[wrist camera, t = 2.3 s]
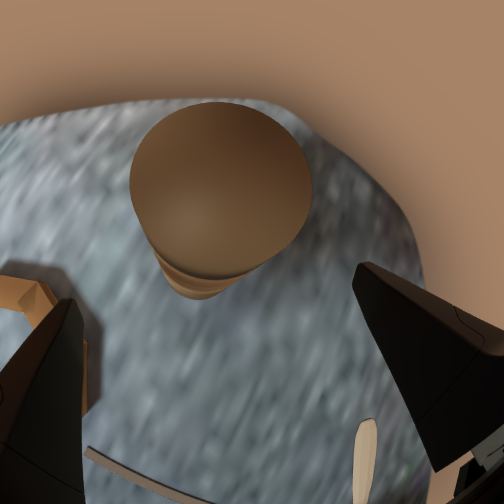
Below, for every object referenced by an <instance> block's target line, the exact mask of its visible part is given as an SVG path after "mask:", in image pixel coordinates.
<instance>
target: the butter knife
mask: <svg viewBox="0 0 504 504" xmlns="http://www.w3.org/2000/svg"><path fill="white" fill-rule="evenodd" d="M376 447H377V427H376V424H375V420H374V419H368V420H365V421H362V422H361V424H360V426H359V429H358V431H357V434H356V439H355V449H354V467H353V504H367V501H368V497H369V492H370V488H371V484H372V479H373V472H374V465H375V457H376Z"/></svg>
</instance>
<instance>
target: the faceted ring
mask: <svg viewBox="0 0 504 504" xmlns="http://www.w3.org/2000/svg"><path fill="white" fill-rule="evenodd" d="M57 303H58V300H57V299H56V297H55V296H54V294H53V292H52V291H51V289H50V288H49V286H48V284H45V283H42V282H38V281H32V280H26V279H21V278H15V277H10V276H4V275H0V307H1V308H5V309H9V310H14V311H18V312H23V313H24V314H25V316H26V317H27V319H28V321H29V322H30V324H31V326H32V327H33V329H35V328H36V327H37V326H38V324H39V323H40V322H41V321H42V320H43V319H44V317H45V316H46V315H47V314H48V313H49V312H50V311H51V309H52V308H53V307H54V306H55V305H56V304H57ZM87 412H88V411H87V342H86V340H85V339H84V377H83V394H82V417H83V416H84V415H85V414H86V413H87Z"/></svg>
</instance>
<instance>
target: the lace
mask: <svg viewBox="0 0 504 504" xmlns="http://www.w3.org/2000/svg"><path fill="white" fill-rule="evenodd" d="M84 456H85V457H87V458H88V459H90V460H92V461H94V462H95V463H97V464H99V465H101V466H102V467H104V468H106V469H108V470H110V471H111V472H113V473H115V474H117V475H119V476H121V477H123V478H125V479H127V480H129V481H131V482H133V483H135V484H137V485H139V486H142V487H144V488H146V489H148V490H150V491H153V492H155V493H157V494H160V495H162V496H164V497H167V498H169V499H172V500H174V501H177V502H180V503H182V504H211V503H208V502H205V501H202V500H199V499H197V498H194V497H191V496H188V495H186V494H183V493H181V492H178V491H176V490H173V489H171V488H168V487H166V486H163V485H161V484H159V483H157V482H154V481H152V480H150V479H148V478H146V477H143V476H141V475H139V474H137V473H135V472H133V471H131V470H129V469H127V468H125V467H123V466H121V465H119V464H118V463H116V462H114V461H112V460H110V459H108V458H107V457H105V456H103V455H101V454H100V453H98V452H96V451H94V450H93V449H91V448H89V447H87V449H86V451H85V453H84Z"/></svg>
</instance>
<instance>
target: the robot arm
mask: <svg viewBox="0 0 504 504" xmlns="http://www.w3.org/2000/svg"><path fill="white" fill-rule="evenodd" d="M352 288H353V291H354V293H355V296H356V298H357V301H358V303H359V306H360V308H361V311H362V313H363V316H364V318H365V321H366V323H367V325H368V327H369V329H370V331H371V333H372V335H373V337H374V339H375V341H376V343H377V345H378V347H379V349H380V351H381V353H382V355H383V357H384V359H385V361H386V363H387V365H388V367H389V370H390V372H391V374H392V376H393V378H394V380H395V382H396V384H397V386H398V388H399V391H400V393H401V395H402V397H403V399H404V401H405V404H406V406H407V408H408V410H409V412H410V415H411V417H412V419H413V422H414V424H415V426H416V429H417V431H418V433H419V436H420V438H421V440H422V443H423V445H424V448H425V450H426V452H427V455H428V457H429V460H430V462H431V465H432V467H433V470H434V471H435V473H437V472H438V471H440V470H442V469H443V468H445V467H446V466H448V465H449V464H450V463H452V462H454V461H455V460H457V459H458V458H460V457H461V456H463V455H464V454H466V453H467V452H468V451H470V450H471V452H472V454H473V456H474V458H472V459H471V460H470V461H468V462H467V463H466V464H464V465H463V466H462V467H460V470H459V475H458V479H457V484H456V488H455V492H454V499H452V500H451V501H449V502H448V503H446V504H504V330H502V329H500V328H498V327H495V326H493V325H491V324H489V323H487V322H485V321H483V320H481V319H479V318H477V317H475V316H473V315H471V314H469V313H467V312H465V311H463V310H461V309H459V308H458V307H456V306H453V305H452V304H450V303H448V302H446V301H445V300H443V299H441V298H439V297H437V296H435V295H433V294H431V293H429V292H428V291H426V290H424V289H422V288H420V287H418V286H416V285H414V284H412V283H411V282H409V281H407V280H405V279H403V278H401V277H399V276H397V275H395V274H393V273H391V272H389V271H387V270H385V269H383V268H381V267H379V266H377V265H375V264H373V263H371V262H363V263H359V264H358V265H357V268H356V271H355V274H354V278H353V281H352ZM83 377H84V323H83V318H82V315H81V313H80V310H79V308H78V305H77V303H76V301H75V299H74V298H72V297H71V298H62V299H61V300H59V302H58V303H57V304H56V305H55V306H54V307H53V308H52V309H51V311H50V312H49V313H48V314H47V315H46V316H45V317H44V319H43V320H42V321H41V322H40V323H39V324H38V326H37V327H36V328H35V329H34V330H33V332H32V333H31V334H30V335H29V336H28V338H27V339H26V340H25V341H24V342H23V344H22V345H21V346H20V347H19V349H18V350H17V351H16V352H15V354H14V355H13V356H12V358H11V359H10V360H9V361H8V363H7V364H6V365H5V367H4V368H3V369H2V371H1V372H0V504H86V502H85V495H84V481H83V465H82V394H83Z"/></svg>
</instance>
